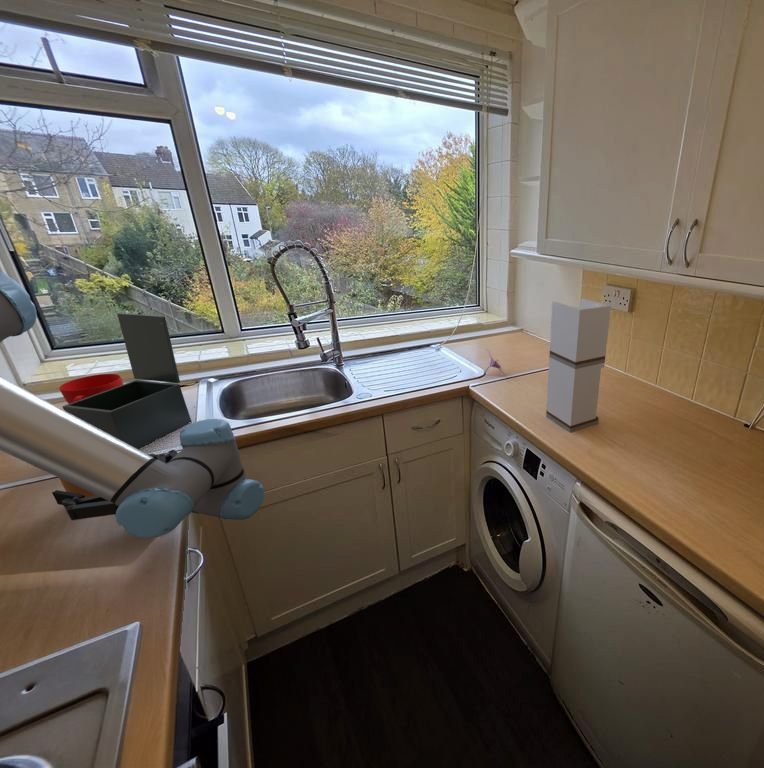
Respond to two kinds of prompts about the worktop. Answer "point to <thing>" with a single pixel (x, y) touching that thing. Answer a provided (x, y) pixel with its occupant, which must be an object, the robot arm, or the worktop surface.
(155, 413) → the bin
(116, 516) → the robot arm
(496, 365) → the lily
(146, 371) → the bin lid
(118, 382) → the red bowl
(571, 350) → the white tall square block
